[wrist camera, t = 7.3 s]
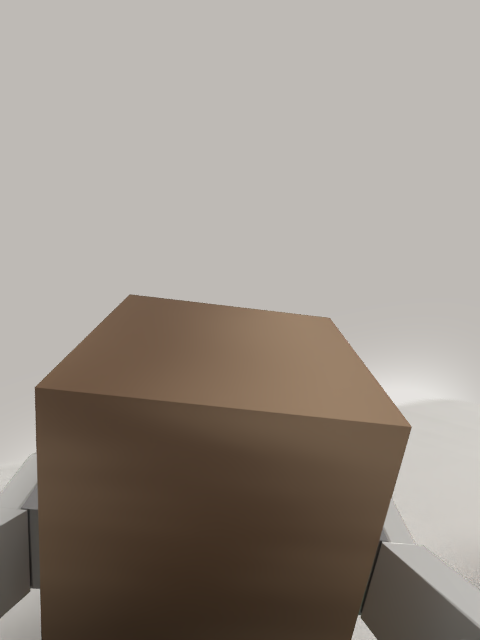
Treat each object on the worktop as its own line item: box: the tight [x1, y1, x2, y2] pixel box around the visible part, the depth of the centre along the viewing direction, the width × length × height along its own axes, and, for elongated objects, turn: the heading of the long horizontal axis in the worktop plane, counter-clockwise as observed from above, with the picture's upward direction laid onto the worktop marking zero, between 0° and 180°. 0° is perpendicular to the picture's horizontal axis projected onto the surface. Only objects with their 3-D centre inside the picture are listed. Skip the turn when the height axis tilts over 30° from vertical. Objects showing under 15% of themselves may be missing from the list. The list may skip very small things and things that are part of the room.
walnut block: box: [35, 295, 411, 640], centre depth 8 cm, size 4×4×10 cm
